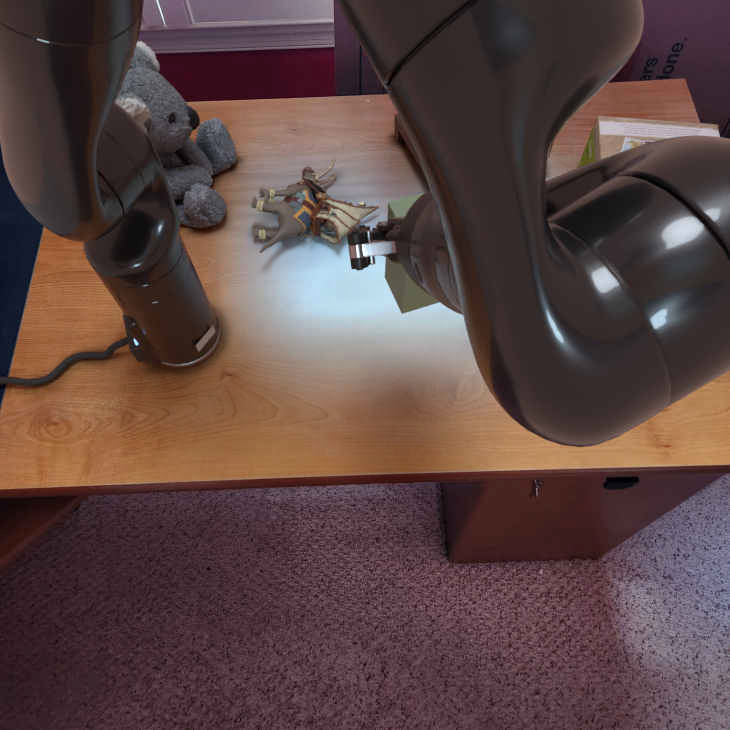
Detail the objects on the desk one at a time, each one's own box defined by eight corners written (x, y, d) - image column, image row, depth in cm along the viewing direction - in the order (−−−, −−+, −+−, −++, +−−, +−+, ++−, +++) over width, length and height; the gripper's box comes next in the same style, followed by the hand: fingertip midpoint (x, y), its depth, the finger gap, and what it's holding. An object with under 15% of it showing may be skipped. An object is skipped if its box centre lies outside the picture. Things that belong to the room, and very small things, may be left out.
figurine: (275, 138, 84) (388, 155, 83) (279, 171, 90) (386, 188, 88) (231, 237, 74) (360, 258, 73) (239, 268, 79) (359, 288, 78)
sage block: (401, 314, 53) (408, 243, 45) (384, 277, 55) (387, 202, 47) (446, 300, 54) (462, 227, 45) (427, 264, 56) (439, 188, 47)
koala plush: (226, 235, 83) (188, 120, 65) (102, 233, 83) (31, 118, 66) (241, 149, 91) (211, 26, 74) (127, 148, 91) (71, 26, 74)
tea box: (667, 206, 85) (722, 121, 71) (675, 261, 80) (734, 180, 67) (563, 196, 86) (598, 111, 73) (564, 249, 81) (602, 168, 68)
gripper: (589, 164, 33) (492, 173, 50) (345, 198, 32) (326, 196, 48) (590, 292, 36) (497, 261, 52) (362, 327, 35) (339, 284, 51)
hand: (415, 229), depth 50 cm, fingers closed on sage block, 5 cm apart
